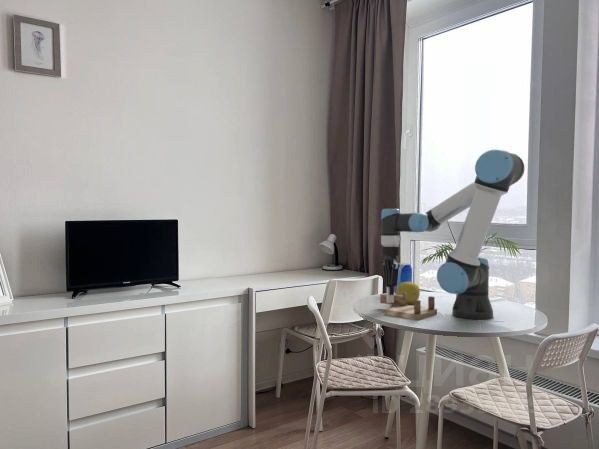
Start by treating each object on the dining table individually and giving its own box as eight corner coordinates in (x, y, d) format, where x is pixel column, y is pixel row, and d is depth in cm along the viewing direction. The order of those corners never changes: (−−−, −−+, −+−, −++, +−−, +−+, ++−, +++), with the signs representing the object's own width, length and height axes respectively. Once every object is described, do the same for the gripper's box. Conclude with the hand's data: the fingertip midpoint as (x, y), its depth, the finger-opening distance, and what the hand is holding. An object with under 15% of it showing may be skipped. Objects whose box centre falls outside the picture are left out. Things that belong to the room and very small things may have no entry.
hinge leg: (406, 304, 194) (406, 292, 194) (405, 305, 192) (405, 293, 192) (381, 302, 198) (381, 291, 198) (380, 303, 196) (380, 291, 196)
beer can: (401, 294, 235) (401, 262, 235) (415, 296, 229) (415, 263, 229) (391, 295, 230) (391, 263, 230) (405, 298, 224) (405, 264, 223)
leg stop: (401, 307, 199) (401, 300, 199) (399, 308, 198) (399, 301, 198) (393, 306, 202) (393, 299, 202) (391, 306, 201) (391, 300, 201)
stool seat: (437, 314, 185) (437, 296, 185) (418, 320, 174) (418, 301, 174) (403, 309, 196) (403, 292, 195) (384, 314, 185) (384, 297, 184)
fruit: (424, 303, 208) (424, 281, 208) (409, 306, 202) (409, 283, 201) (405, 300, 216) (406, 279, 216) (391, 303, 209) (391, 281, 209)
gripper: (405, 246, 187) (405, 304, 187) (391, 244, 200) (391, 299, 200) (388, 246, 186) (388, 305, 186) (375, 245, 198) (375, 300, 198)
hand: (390, 302), depth 193 cm, fingers closed
